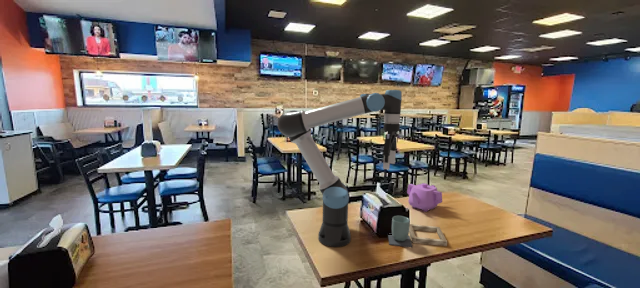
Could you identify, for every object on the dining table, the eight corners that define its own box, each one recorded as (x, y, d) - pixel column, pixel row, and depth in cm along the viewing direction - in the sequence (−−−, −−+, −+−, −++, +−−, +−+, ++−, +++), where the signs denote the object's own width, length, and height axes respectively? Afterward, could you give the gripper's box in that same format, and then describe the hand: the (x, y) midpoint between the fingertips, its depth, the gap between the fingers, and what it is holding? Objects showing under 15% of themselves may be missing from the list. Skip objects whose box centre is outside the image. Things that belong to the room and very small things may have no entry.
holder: (412, 242, 128) (412, 238, 128) (408, 228, 142) (408, 224, 142) (446, 246, 125) (447, 241, 125) (439, 231, 140) (439, 227, 139)
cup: (409, 237, 131) (411, 217, 130) (406, 245, 124) (408, 224, 123) (393, 233, 135) (394, 214, 133) (389, 240, 128) (390, 220, 126)
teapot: (433, 202, 179) (435, 179, 177) (444, 213, 162) (446, 188, 159) (403, 201, 180) (404, 179, 178) (411, 212, 162) (413, 188, 160)
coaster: (389, 244, 125) (389, 243, 125) (388, 234, 135) (388, 233, 135) (412, 247, 124) (412, 246, 124) (409, 236, 133) (409, 235, 133)
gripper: (394, 125, 120) (391, 172, 123) (404, 121, 142) (401, 162, 145) (377, 124, 123) (375, 170, 126) (389, 120, 145) (387, 160, 149)
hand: (389, 166), depth 136 cm, fingers open, 13 cm apart
